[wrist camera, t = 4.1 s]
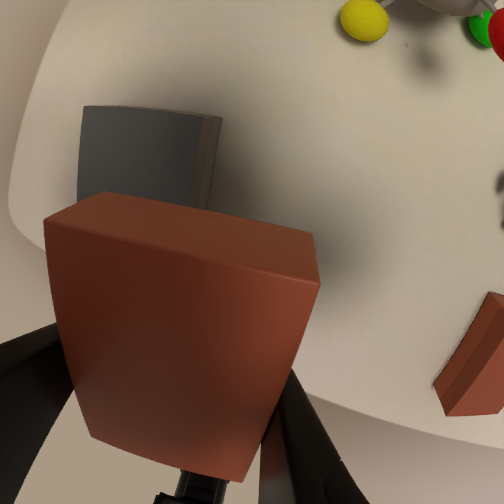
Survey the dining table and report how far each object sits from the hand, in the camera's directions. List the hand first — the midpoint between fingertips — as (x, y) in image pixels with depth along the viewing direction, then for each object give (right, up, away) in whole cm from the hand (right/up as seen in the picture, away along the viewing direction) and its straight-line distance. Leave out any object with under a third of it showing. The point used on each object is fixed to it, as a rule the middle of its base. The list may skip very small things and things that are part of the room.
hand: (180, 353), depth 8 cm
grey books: (-4, +7, +10) cm, 13 cm away
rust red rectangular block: (0, 0, +1) cm, 1 cm away
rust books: (+23, -5, +12) cm, 27 cm away
